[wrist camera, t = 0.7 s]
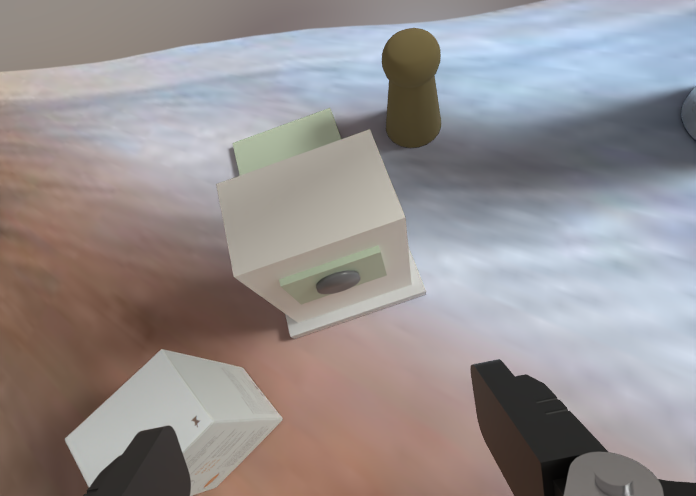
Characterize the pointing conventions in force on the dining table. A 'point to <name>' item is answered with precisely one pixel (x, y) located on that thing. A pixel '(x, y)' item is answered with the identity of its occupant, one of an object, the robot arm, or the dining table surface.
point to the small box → (179, 417)
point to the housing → (321, 235)
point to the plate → (286, 141)
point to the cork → (412, 87)
